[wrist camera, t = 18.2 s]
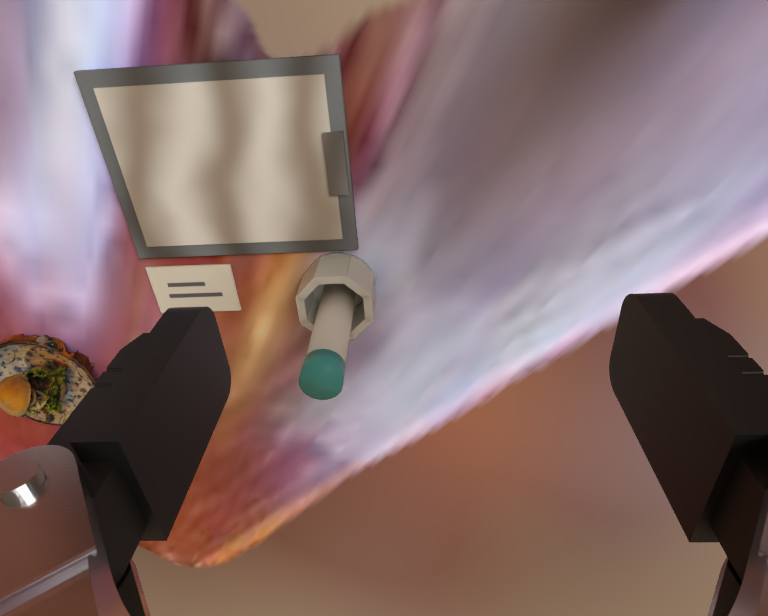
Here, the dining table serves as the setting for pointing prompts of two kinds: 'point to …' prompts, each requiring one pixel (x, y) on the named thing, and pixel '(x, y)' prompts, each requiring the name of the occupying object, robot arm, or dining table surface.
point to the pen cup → (337, 272)
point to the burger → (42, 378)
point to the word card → (195, 287)
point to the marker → (328, 343)
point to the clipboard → (227, 155)
